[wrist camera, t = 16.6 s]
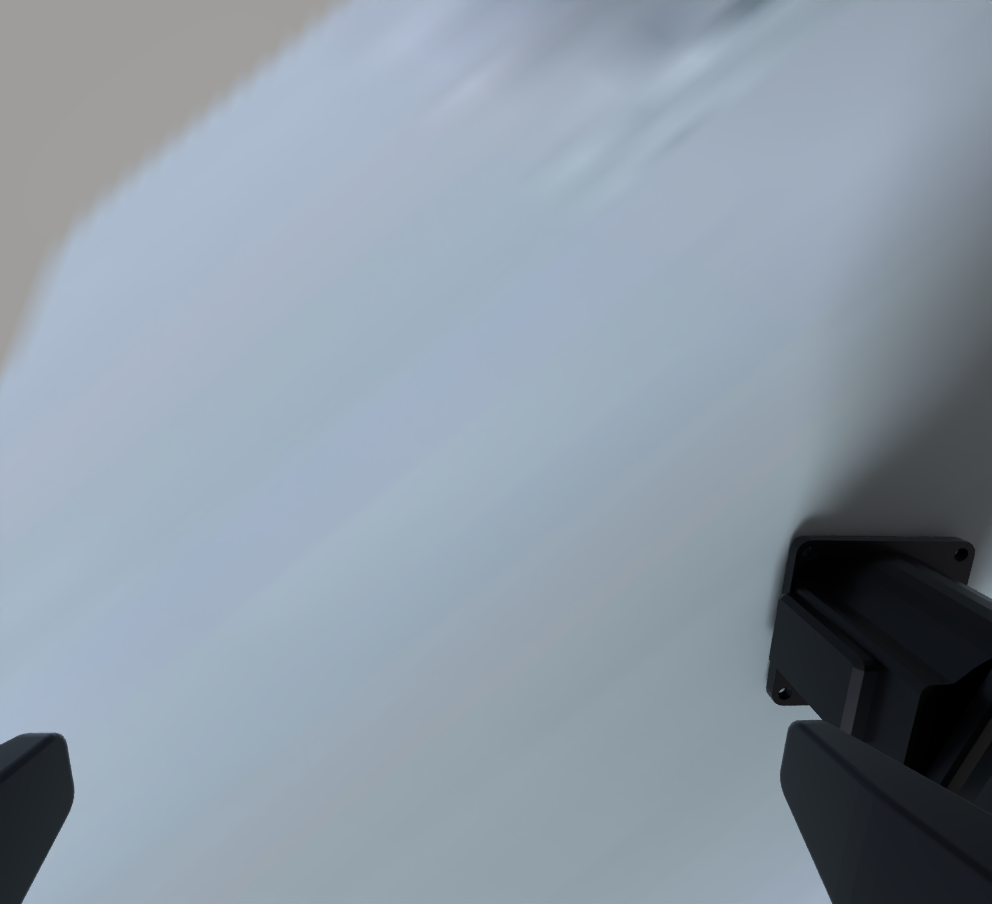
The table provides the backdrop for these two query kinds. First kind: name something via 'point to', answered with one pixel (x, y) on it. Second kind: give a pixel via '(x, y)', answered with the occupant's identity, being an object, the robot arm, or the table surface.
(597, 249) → the table surface
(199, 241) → the table surface
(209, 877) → the table surface
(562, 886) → the table surface
